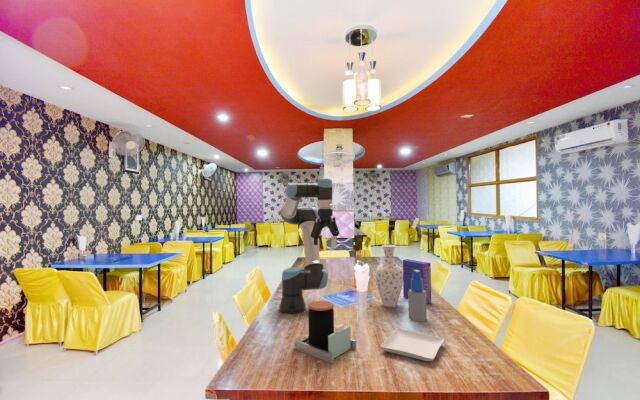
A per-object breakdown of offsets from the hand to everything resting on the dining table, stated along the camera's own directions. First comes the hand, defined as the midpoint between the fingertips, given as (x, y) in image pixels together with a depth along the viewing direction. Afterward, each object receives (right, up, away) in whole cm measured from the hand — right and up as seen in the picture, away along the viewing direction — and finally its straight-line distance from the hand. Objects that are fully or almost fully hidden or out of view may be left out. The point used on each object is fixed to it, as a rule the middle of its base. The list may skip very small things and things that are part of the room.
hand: (325, 249), depth 163 cm
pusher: (+5, -36, -36) cm, 51 cm away
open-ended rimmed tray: (-1, -36, -31) cm, 48 cm away
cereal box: (+57, -37, +35) cm, 77 cm away
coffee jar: (-2, -36, -30) cm, 47 cm away
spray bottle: (+48, -36, +2) cm, 60 cm away
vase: (+38, -37, +25) cm, 59 cm away
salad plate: (+36, -36, -32) cm, 60 cm away
